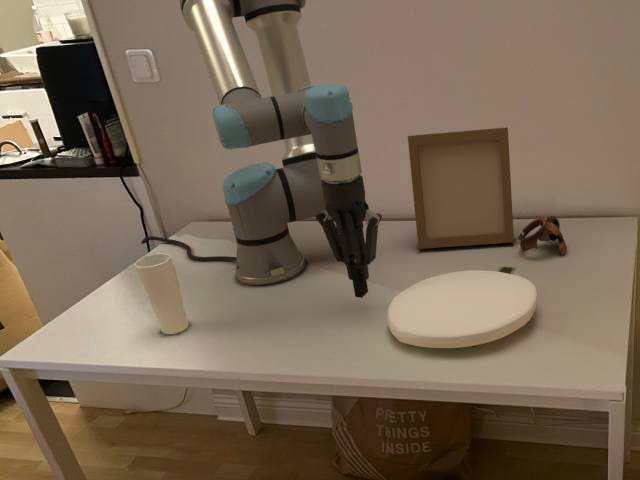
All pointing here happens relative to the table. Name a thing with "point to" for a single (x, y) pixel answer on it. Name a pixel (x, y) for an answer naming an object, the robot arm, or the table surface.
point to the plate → (461, 309)
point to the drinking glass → (162, 291)
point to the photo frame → (462, 188)
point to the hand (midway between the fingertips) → (361, 294)
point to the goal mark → (506, 270)
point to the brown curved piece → (542, 234)
